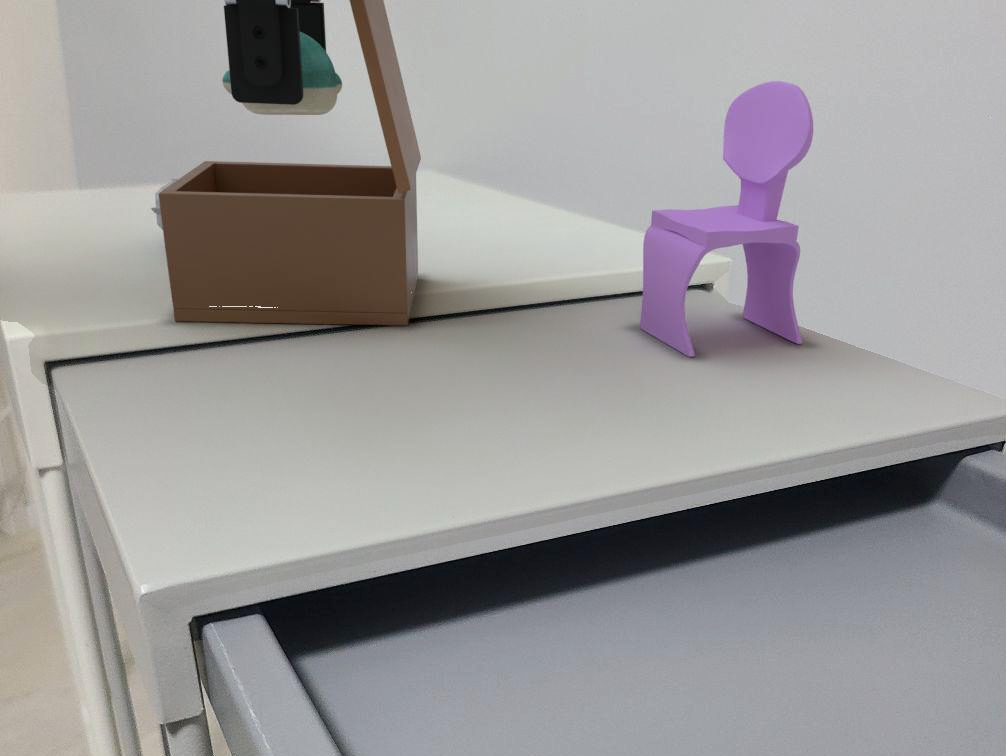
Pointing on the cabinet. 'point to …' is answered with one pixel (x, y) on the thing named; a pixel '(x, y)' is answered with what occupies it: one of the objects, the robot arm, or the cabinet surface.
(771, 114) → the toy chair
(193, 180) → the brown open rectangular box
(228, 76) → the whale figurine
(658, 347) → the cabinet surface
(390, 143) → the lid
